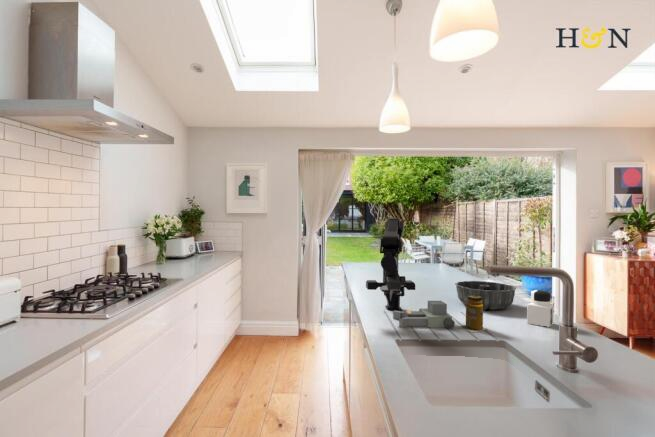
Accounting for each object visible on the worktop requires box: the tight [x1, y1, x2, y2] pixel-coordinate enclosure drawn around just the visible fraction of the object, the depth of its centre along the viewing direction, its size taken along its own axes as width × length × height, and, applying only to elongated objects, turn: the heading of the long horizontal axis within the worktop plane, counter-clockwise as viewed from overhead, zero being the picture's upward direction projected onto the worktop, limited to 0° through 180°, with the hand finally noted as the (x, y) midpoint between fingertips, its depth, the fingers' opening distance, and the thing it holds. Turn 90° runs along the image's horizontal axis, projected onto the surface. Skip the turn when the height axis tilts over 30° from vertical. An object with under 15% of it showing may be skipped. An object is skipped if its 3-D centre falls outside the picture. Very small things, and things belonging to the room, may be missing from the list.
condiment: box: [457, 295, 489, 333], centre depth 131 cm, size 7×8×12 cm
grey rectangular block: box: [403, 310, 425, 318], centre depth 138 cm, size 4×7×4 cm, turn 93°
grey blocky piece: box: [392, 300, 456, 329], centre depth 137 cm, size 15×20×8 cm
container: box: [526, 289, 555, 327], centre depth 138 cm, size 8×8×13 cm
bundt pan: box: [454, 280, 517, 311], centre depth 165 cm, size 26×26×10 cm
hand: (390, 306), depth 137 cm, fingers closed
